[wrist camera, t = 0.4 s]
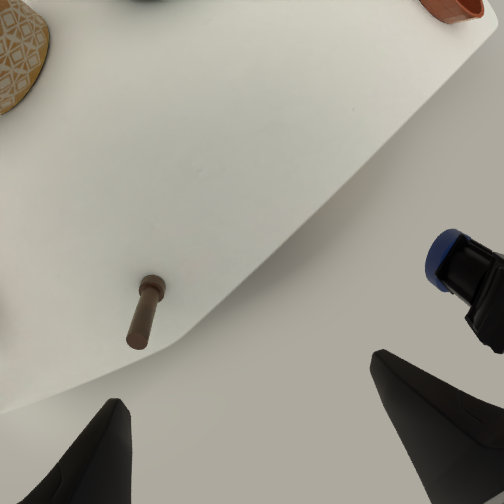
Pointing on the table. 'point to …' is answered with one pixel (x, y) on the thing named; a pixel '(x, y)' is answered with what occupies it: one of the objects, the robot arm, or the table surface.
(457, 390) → the robot arm
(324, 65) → the table surface
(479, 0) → the bowl
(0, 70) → the planter
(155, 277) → the dark brown collared rod
